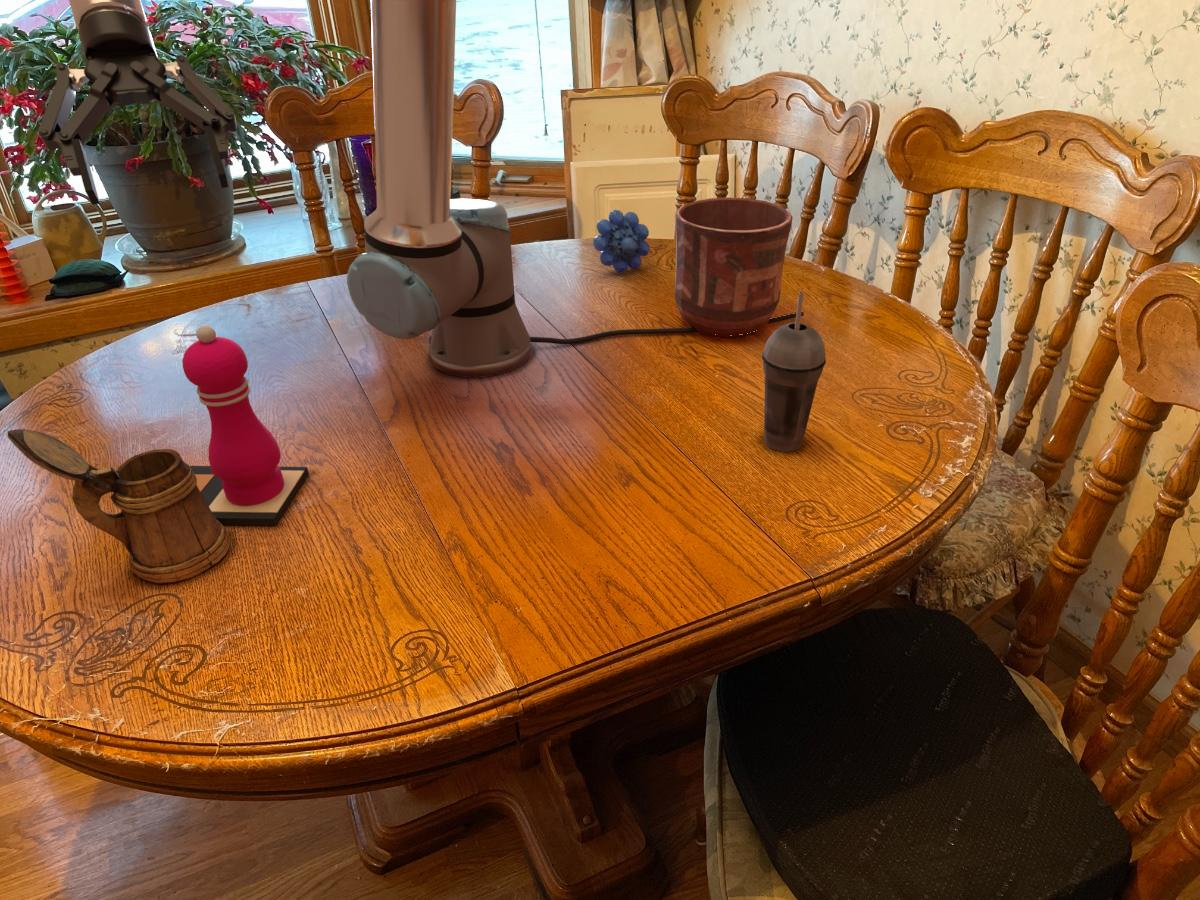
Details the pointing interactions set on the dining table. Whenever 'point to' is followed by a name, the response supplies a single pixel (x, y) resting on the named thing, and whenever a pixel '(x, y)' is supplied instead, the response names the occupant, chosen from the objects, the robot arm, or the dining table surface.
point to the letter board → (249, 514)
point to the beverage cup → (790, 381)
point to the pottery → (729, 264)
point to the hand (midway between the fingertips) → (160, 189)
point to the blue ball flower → (621, 241)
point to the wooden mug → (139, 506)
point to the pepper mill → (233, 420)
